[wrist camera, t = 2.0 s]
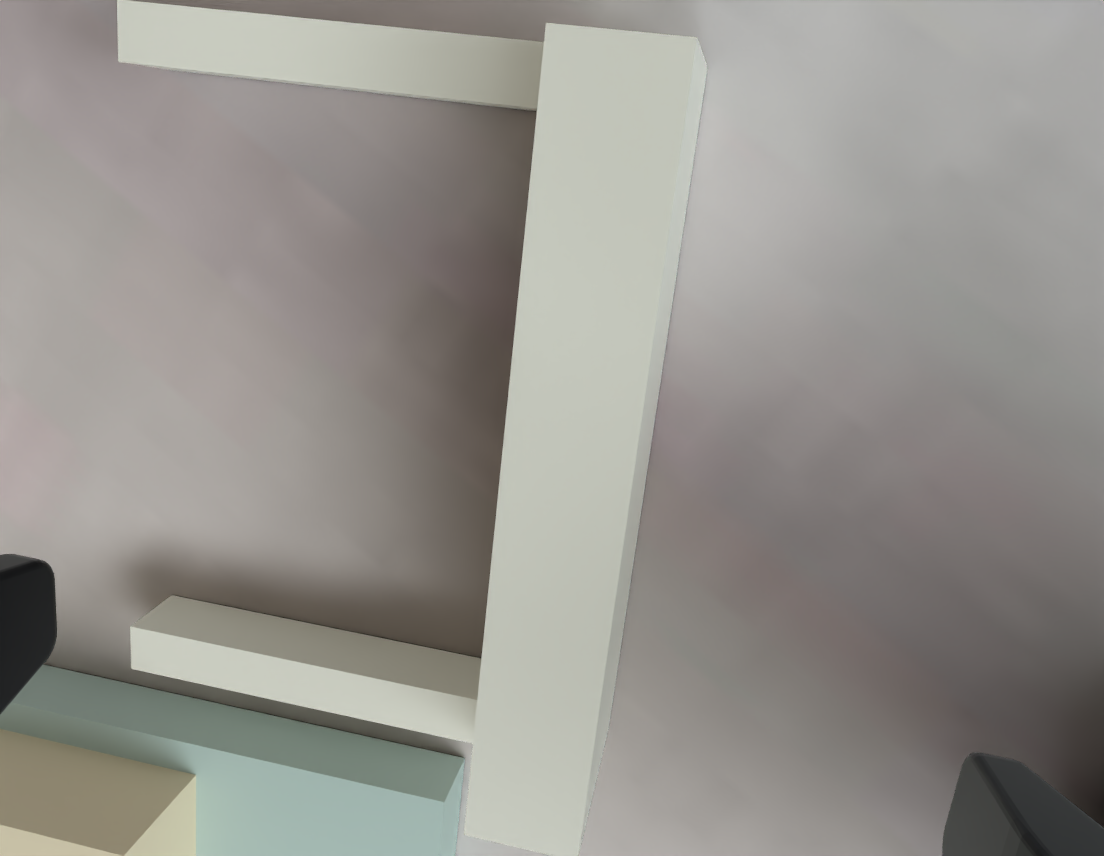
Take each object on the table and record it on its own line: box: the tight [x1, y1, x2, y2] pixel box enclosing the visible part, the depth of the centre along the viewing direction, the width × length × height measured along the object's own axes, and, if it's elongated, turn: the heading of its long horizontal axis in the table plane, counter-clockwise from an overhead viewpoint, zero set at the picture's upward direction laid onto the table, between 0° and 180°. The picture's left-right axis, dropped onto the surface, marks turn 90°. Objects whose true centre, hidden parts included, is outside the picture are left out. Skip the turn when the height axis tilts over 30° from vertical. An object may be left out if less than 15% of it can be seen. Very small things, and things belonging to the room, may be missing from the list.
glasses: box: [117, 0, 708, 856], centre depth 17 cm, size 10×13×4 cm
